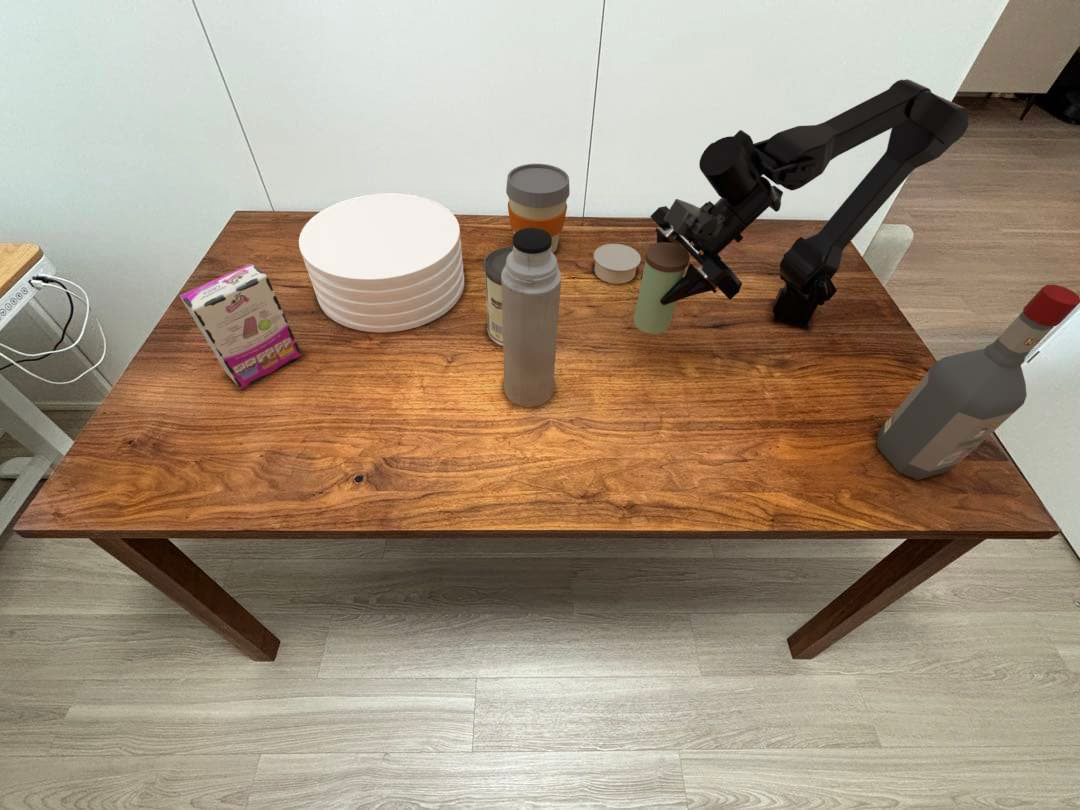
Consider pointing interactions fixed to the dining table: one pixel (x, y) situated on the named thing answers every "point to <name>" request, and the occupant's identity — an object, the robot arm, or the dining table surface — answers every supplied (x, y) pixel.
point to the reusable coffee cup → (538, 199)
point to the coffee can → (495, 291)
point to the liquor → (969, 393)
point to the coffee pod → (616, 263)
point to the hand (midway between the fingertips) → (651, 291)
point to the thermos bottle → (530, 317)
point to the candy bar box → (243, 324)
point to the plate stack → (384, 261)
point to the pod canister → (659, 286)
